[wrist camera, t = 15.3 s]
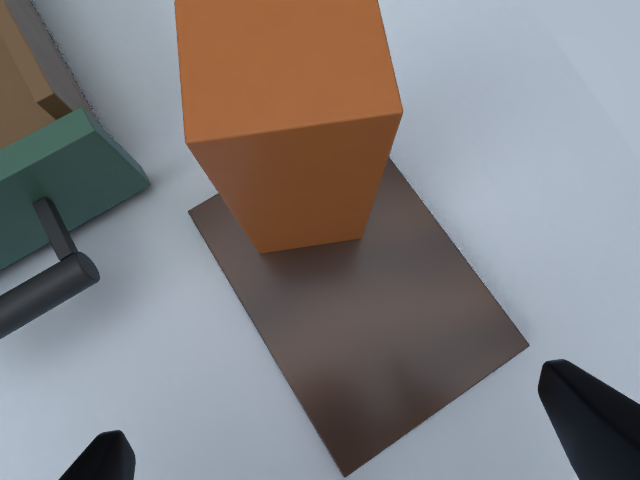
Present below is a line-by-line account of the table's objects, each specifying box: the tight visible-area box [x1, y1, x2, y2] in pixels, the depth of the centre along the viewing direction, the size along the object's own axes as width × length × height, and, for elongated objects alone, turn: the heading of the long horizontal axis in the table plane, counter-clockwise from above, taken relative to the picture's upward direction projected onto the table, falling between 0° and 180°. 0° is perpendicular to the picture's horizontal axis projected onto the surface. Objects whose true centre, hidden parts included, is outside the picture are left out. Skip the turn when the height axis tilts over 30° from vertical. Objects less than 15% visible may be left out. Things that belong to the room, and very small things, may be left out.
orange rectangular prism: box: [174, 0, 403, 254], centre depth 15 cm, size 4×5×11 cm
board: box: [188, 157, 530, 478], centre depth 20 cm, size 14×10×1 cm
